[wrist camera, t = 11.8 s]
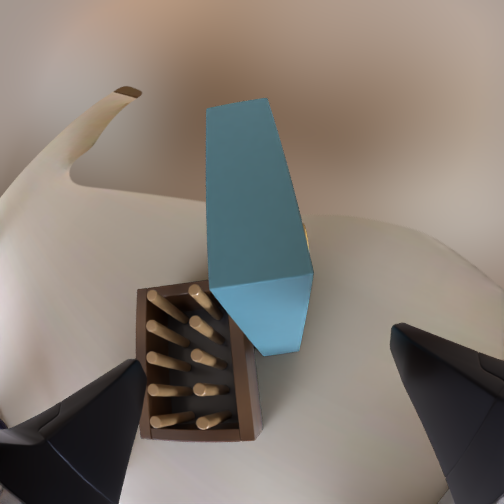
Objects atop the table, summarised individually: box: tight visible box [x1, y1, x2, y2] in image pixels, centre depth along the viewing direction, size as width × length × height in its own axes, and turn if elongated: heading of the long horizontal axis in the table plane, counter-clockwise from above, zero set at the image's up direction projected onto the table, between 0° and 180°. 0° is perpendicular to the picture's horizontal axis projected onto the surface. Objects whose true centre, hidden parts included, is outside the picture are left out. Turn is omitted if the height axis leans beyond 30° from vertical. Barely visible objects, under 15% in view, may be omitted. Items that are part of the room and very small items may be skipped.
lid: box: [206, 98, 314, 356], centre depth 15 cm, size 8×4×14 cm, turn 6°
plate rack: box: [136, 280, 263, 442], centre depth 16 cm, size 10×7×6 cm
